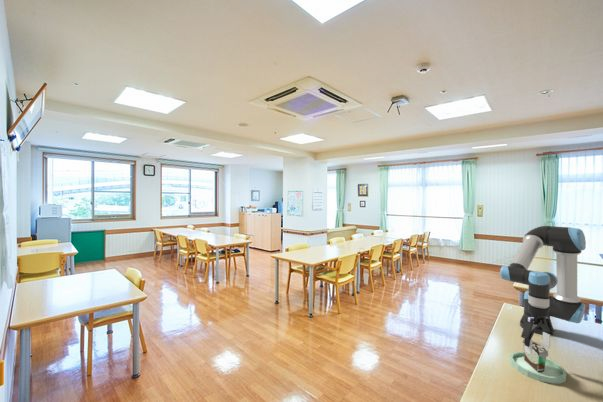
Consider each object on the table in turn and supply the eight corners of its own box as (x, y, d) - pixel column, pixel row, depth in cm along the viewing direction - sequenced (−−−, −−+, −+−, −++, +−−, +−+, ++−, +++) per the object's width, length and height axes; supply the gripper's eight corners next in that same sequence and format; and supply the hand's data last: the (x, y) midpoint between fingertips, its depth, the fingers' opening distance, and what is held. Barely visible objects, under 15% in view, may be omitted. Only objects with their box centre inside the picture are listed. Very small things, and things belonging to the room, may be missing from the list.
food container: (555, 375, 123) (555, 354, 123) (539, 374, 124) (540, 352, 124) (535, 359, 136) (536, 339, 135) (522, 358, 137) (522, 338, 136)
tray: (526, 353, 143) (526, 348, 143) (576, 377, 124) (576, 371, 124) (500, 361, 136) (500, 356, 136) (549, 388, 117) (549, 382, 117)
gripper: (545, 298, 137) (544, 340, 138) (512, 306, 128) (511, 350, 129) (564, 304, 130) (562, 348, 131) (530, 312, 121) (529, 359, 122)
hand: (537, 349), depth 130 cm, fingers open, 13 cm apart
